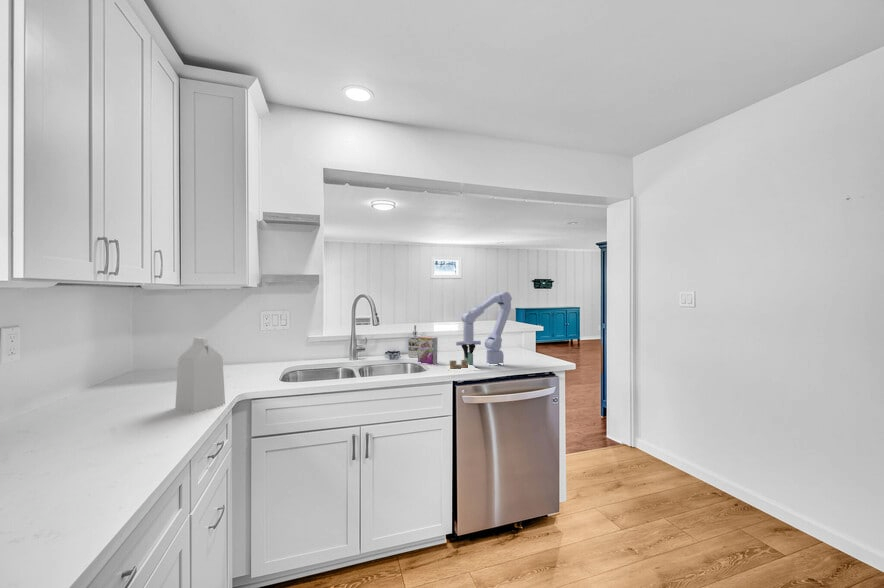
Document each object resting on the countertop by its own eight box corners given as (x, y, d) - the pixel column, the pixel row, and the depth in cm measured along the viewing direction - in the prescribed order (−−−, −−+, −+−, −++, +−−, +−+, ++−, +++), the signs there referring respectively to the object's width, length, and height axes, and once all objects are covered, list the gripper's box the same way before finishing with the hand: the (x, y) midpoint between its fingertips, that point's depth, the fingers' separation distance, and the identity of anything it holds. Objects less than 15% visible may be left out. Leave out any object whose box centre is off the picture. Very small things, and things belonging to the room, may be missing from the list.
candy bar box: (417, 363, 225) (417, 336, 224) (422, 362, 229) (422, 335, 229) (433, 366, 219) (433, 338, 218) (437, 364, 223) (437, 337, 223)
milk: (175, 408, 140) (175, 338, 140) (206, 400, 150) (206, 335, 150) (193, 413, 134) (193, 341, 134) (225, 404, 145) (225, 337, 144)
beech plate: (466, 368, 208) (466, 359, 208) (467, 369, 207) (467, 360, 207) (449, 369, 206) (449, 360, 205) (450, 370, 204) (450, 361, 204)
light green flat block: (466, 361, 220) (466, 351, 220) (473, 364, 210) (473, 354, 210) (463, 361, 219) (463, 351, 219) (470, 365, 210) (470, 354, 210)
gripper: (458, 335, 208) (458, 359, 209) (482, 334, 213) (482, 358, 213) (454, 333, 215) (454, 357, 215) (478, 332, 219) (478, 355, 220)
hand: (468, 357), depth 215 cm, fingers closed on light green flat block, 2 cm apart
